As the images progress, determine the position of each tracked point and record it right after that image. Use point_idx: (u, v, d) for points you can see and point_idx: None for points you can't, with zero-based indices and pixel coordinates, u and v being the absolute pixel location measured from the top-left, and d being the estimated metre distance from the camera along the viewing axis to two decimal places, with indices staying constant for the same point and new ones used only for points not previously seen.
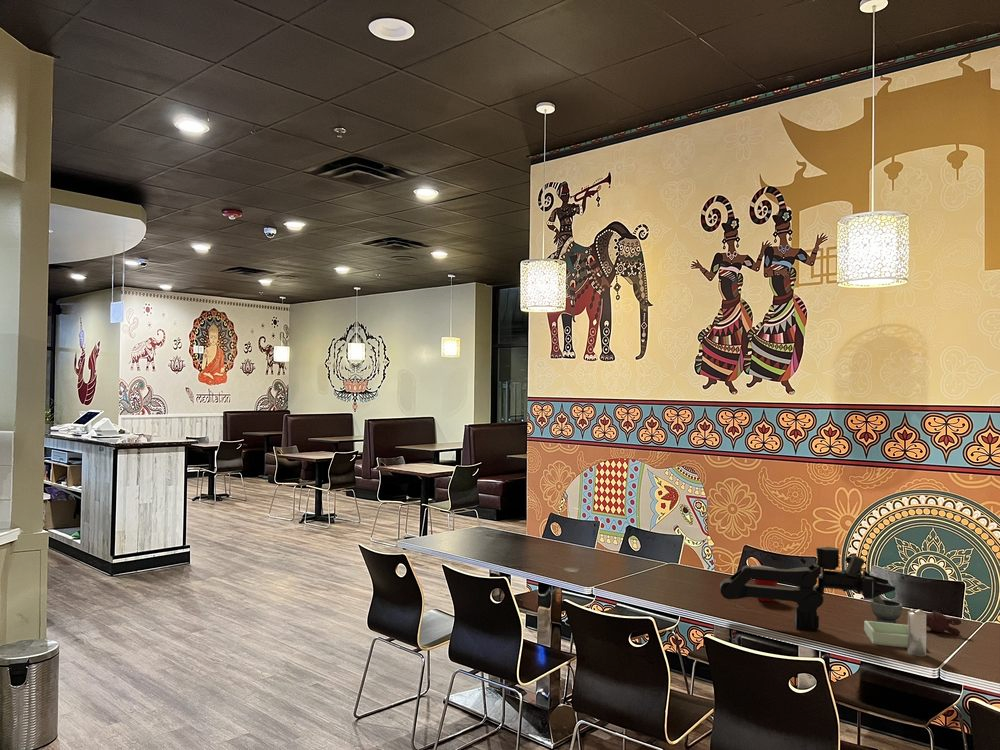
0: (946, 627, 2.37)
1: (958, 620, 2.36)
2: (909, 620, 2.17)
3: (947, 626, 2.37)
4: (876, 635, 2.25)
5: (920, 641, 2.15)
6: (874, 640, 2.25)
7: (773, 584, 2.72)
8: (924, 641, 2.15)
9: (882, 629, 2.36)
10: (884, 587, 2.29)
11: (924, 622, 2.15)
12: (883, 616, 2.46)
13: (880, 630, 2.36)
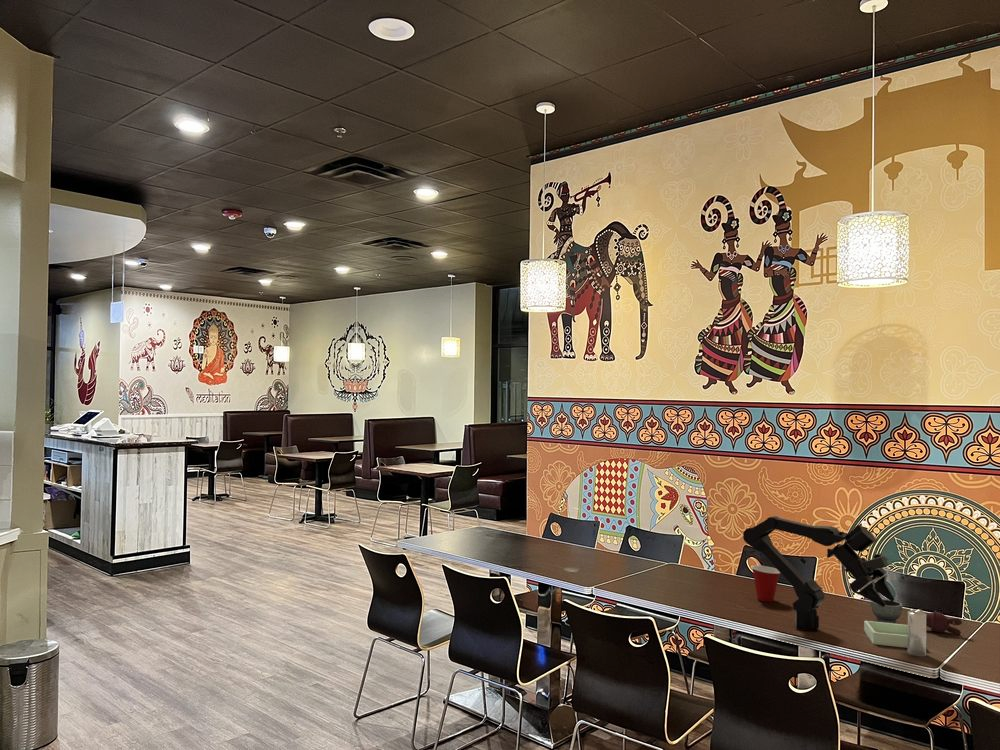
0: (947, 627, 2.37)
1: (959, 620, 2.36)
2: (909, 620, 2.17)
3: (948, 626, 2.37)
4: (876, 635, 2.25)
5: (920, 641, 2.15)
6: (874, 640, 2.25)
7: (773, 584, 2.72)
8: (924, 641, 2.15)
9: (882, 629, 2.36)
10: (875, 596, 2.20)
11: (924, 622, 2.15)
12: (883, 616, 2.46)
13: (880, 630, 2.36)
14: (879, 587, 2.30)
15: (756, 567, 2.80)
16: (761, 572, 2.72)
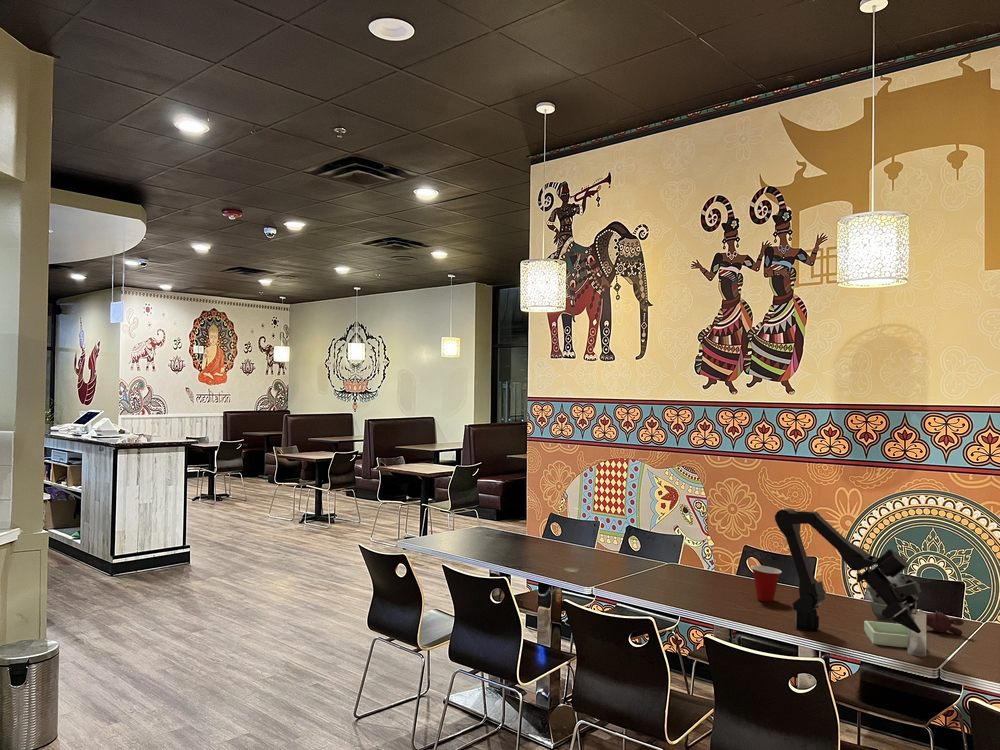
0: (948, 627, 2.37)
1: (960, 620, 2.36)
2: None
3: (949, 626, 2.37)
4: (876, 635, 2.25)
5: (920, 641, 2.15)
6: (874, 640, 2.25)
7: (773, 584, 2.72)
8: (924, 641, 2.15)
9: (882, 629, 2.36)
10: (910, 623, 2.15)
11: (924, 622, 2.15)
12: None
13: (880, 630, 2.36)
14: None
15: (756, 567, 2.80)
16: (761, 572, 2.72)
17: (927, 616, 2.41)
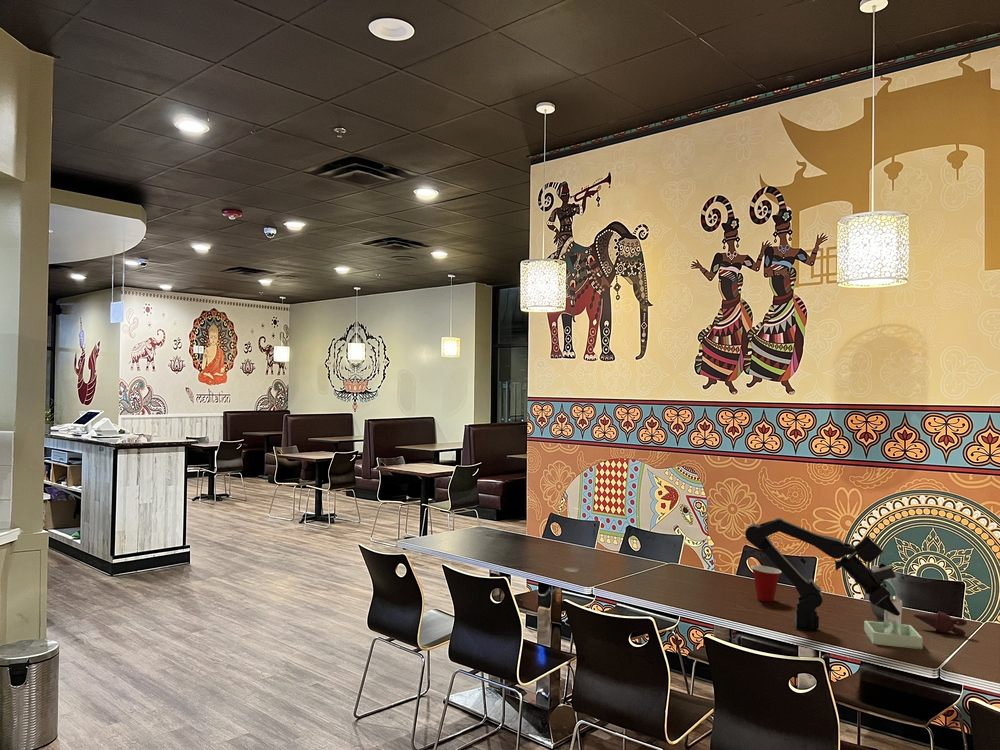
0: (951, 627, 2.37)
1: (963, 621, 2.36)
2: None
3: (952, 626, 2.37)
4: (876, 635, 2.25)
5: (898, 626, 2.28)
6: (874, 640, 2.25)
7: (773, 584, 2.72)
8: None
9: (882, 629, 2.36)
10: (891, 606, 2.25)
11: (901, 608, 2.28)
12: (883, 616, 2.46)
13: (880, 630, 2.36)
14: None
15: (756, 567, 2.80)
16: (761, 572, 2.72)
17: (930, 616, 2.41)
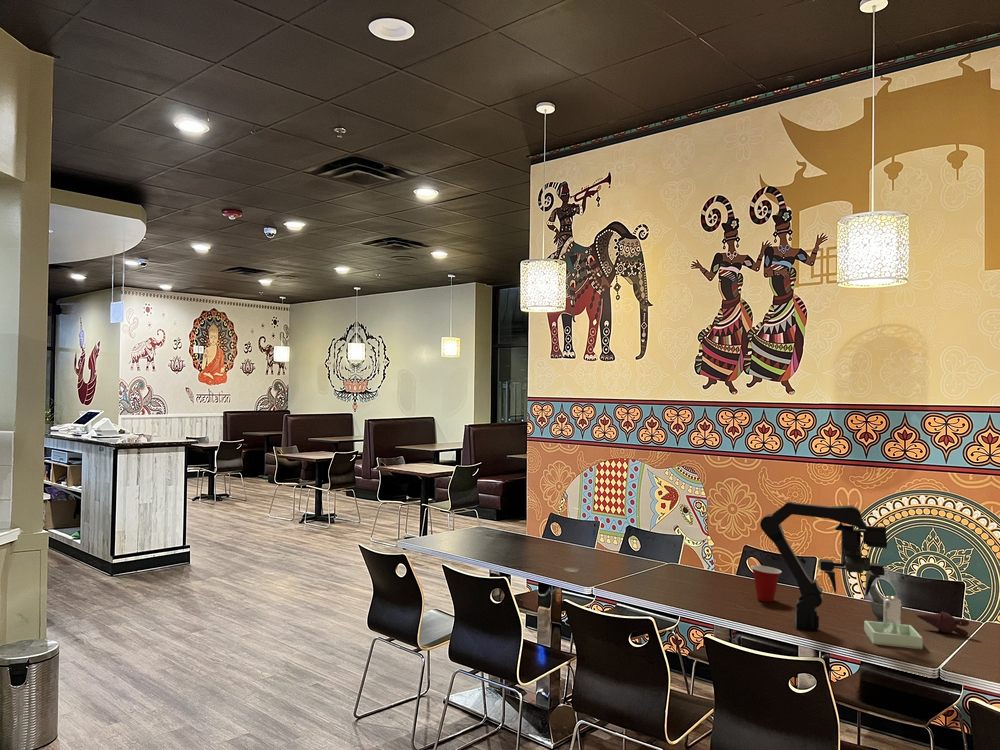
0: (953, 628, 2.36)
1: (966, 621, 2.35)
2: (887, 607, 2.29)
3: (954, 627, 2.36)
4: (876, 635, 2.25)
5: (897, 626, 2.28)
6: (874, 640, 2.25)
7: (773, 584, 2.72)
8: (900, 625, 2.29)
9: (882, 629, 2.36)
10: (831, 582, 2.36)
11: (900, 607, 2.29)
12: None
13: (880, 630, 2.36)
14: (867, 578, 2.34)
15: (756, 567, 2.80)
16: (761, 572, 2.72)
17: (932, 616, 2.41)
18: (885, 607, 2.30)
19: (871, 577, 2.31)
